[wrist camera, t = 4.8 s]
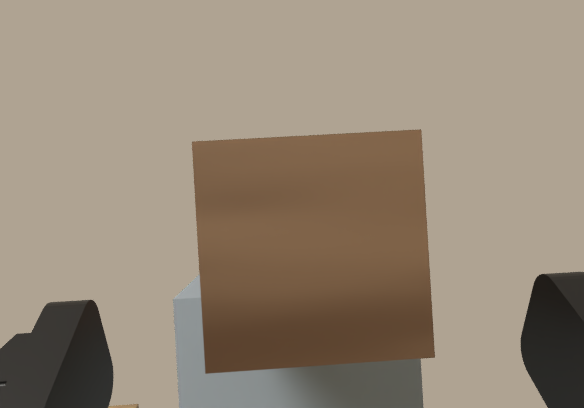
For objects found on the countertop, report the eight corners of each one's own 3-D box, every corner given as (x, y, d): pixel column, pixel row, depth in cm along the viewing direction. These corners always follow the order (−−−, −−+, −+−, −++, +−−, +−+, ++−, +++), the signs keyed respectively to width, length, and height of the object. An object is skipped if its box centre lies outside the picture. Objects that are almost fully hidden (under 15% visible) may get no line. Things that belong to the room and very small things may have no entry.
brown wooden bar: (434, 357, 10) (421, 129, 10) (205, 373, 9) (192, 141, 9) (322, 256, 30) (318, 182, 30) (248, 261, 29) (244, 186, 29)
